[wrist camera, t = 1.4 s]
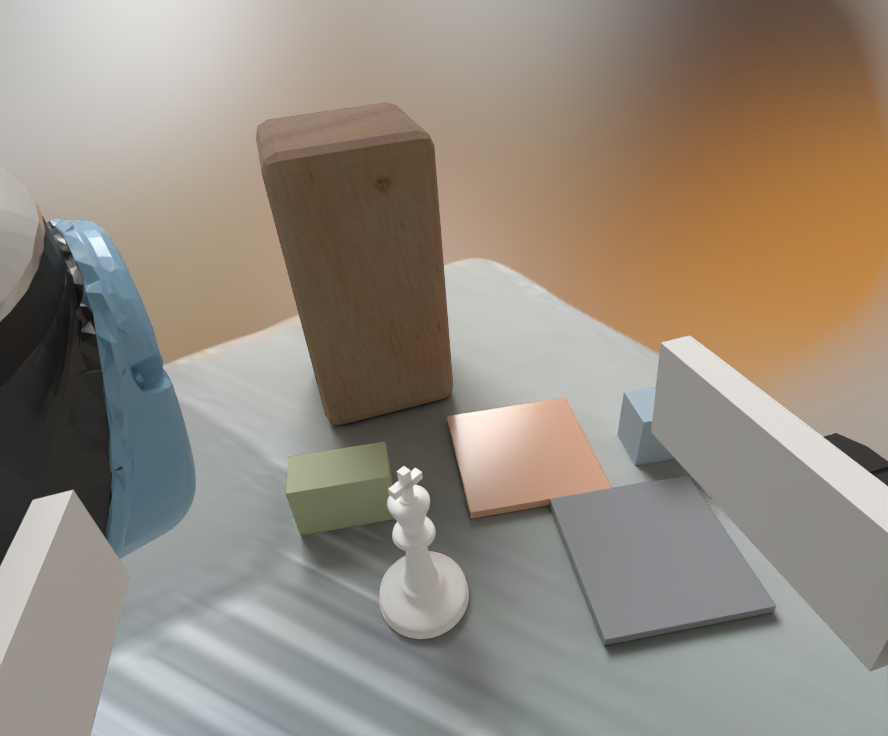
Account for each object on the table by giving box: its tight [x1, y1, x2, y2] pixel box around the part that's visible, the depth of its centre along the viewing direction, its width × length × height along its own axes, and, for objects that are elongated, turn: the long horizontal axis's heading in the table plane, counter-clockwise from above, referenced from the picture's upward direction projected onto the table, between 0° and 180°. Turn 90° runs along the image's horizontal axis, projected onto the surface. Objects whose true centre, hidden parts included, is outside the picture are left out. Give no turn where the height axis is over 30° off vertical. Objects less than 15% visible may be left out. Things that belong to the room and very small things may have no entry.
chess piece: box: [379, 466, 469, 639], centre depth 28 cm, size 5×5×10 cm
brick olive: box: [286, 441, 394, 535], centre depth 35 cm, size 6×3×4 cm, turn 99°
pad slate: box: [549, 475, 776, 646], centre depth 32 cm, size 9×9×1 cm
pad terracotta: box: [447, 398, 612, 519], centre depth 39 cm, size 9×9×1 cm
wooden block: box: [256, 103, 453, 425], centre depth 41 cm, size 10×10×20 cm
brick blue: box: [618, 387, 675, 466], centre depth 38 cm, size 6×3×4 cm, turn 99°
